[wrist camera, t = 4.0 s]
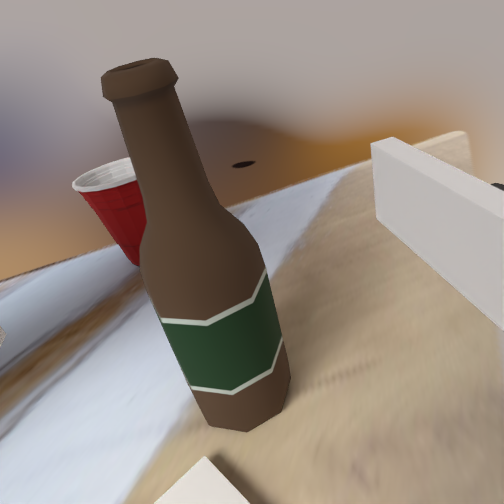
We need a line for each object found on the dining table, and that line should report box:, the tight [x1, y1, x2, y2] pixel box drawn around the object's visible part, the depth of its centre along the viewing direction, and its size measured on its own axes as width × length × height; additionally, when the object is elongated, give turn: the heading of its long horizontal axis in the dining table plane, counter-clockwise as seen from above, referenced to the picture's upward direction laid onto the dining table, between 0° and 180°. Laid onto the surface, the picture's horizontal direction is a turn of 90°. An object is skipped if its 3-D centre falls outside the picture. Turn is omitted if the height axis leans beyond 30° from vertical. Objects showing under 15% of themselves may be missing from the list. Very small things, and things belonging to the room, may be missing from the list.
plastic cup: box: [72, 157, 147, 266], centre depth 51 cm, size 11×11×12 cm
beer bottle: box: [101, 58, 291, 432], centre depth 26 cm, size 8×8×24 cm
